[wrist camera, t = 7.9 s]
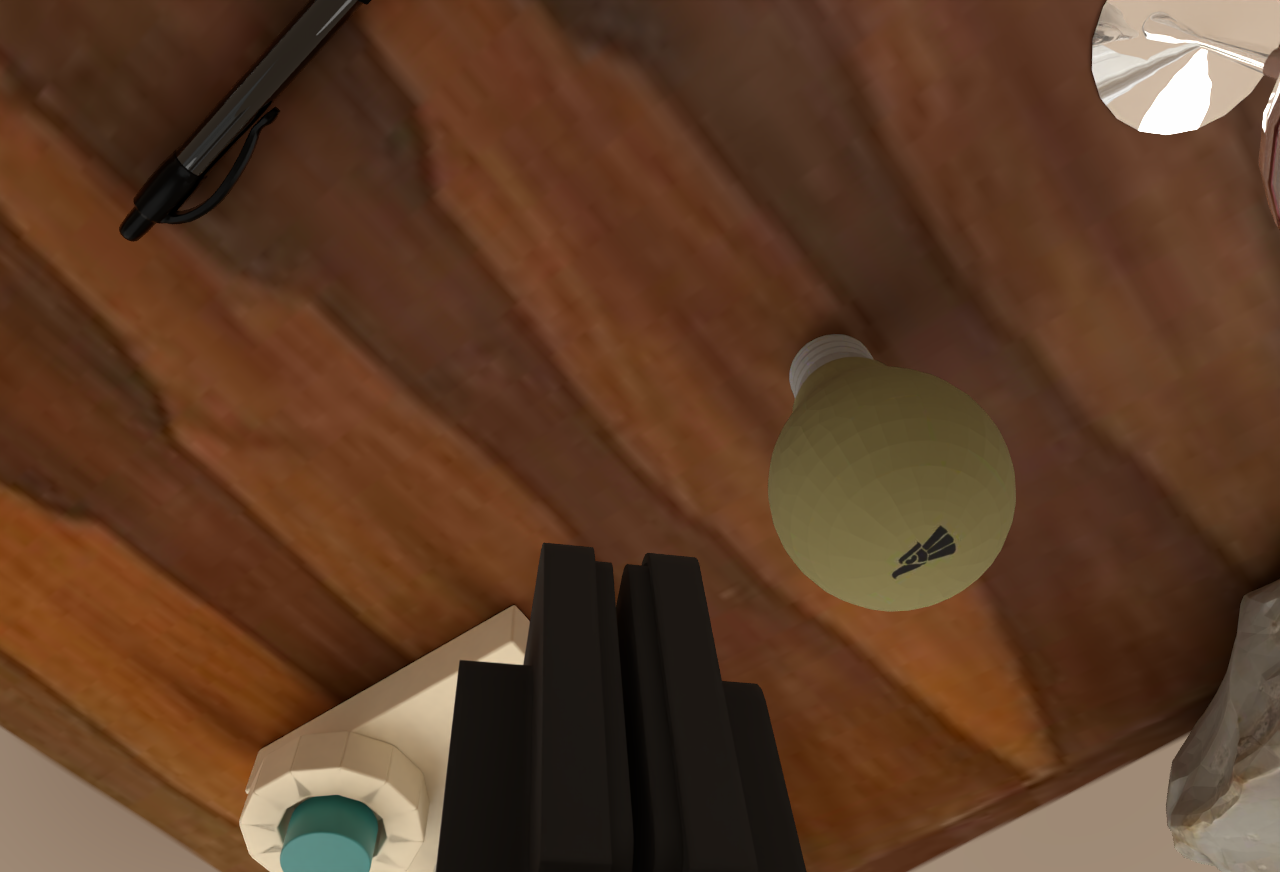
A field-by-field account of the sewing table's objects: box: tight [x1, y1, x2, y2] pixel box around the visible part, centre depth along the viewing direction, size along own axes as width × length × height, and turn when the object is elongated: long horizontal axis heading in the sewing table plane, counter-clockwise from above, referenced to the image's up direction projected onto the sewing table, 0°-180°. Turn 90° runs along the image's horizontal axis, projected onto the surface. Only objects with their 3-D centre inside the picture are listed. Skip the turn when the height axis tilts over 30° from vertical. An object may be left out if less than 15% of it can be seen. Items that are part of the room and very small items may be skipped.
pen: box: [119, 0, 371, 241], centre depth 26 cm, size 14×2×1 cm, turn 132°
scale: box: [239, 605, 530, 872], centre depth 37 cm, size 14×11×4 cm
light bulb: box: [768, 334, 1016, 611], centre depth 27 cm, size 6×6×10 cm
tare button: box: [280, 795, 378, 872], centre depth 34 cm, size 3×3×2 cm
